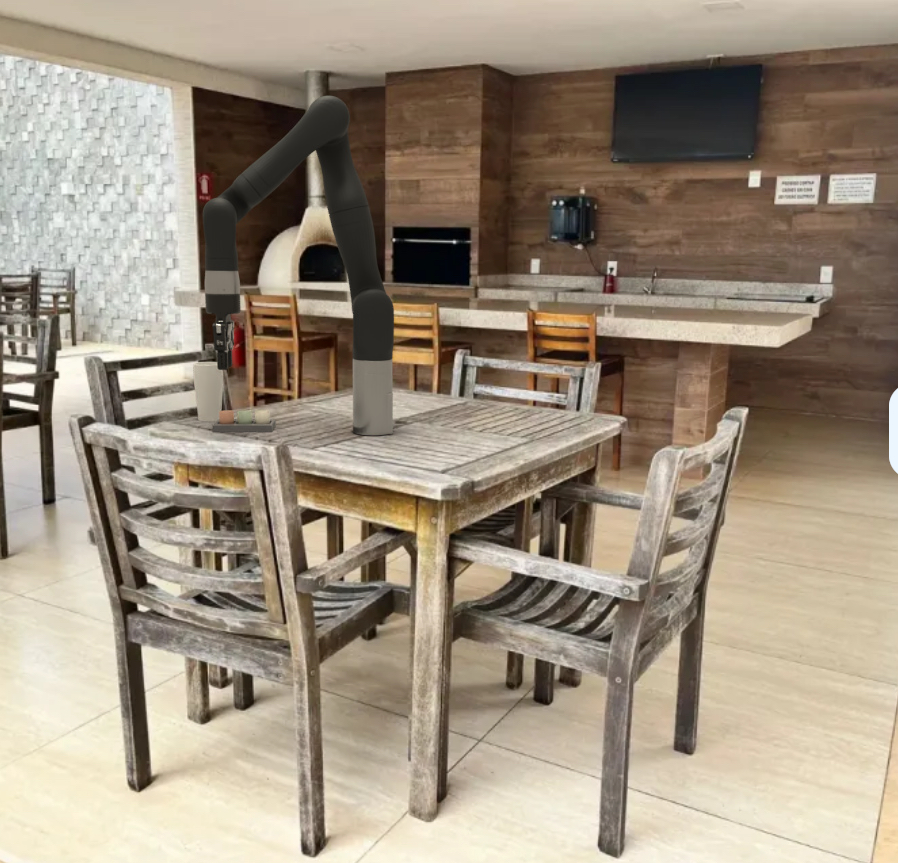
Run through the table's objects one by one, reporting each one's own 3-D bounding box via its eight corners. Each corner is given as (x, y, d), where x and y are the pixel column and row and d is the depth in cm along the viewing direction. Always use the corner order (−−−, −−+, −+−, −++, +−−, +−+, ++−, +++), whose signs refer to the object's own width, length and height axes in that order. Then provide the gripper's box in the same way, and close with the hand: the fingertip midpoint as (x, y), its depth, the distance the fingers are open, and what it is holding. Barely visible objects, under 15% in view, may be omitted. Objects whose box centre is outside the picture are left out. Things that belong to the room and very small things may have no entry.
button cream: (270, 427, 205) (270, 410, 204) (269, 430, 202) (268, 412, 201) (256, 427, 205) (256, 410, 204) (254, 430, 202) (254, 412, 201)
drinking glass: (195, 428, 211) (193, 365, 208) (195, 423, 217) (193, 361, 214) (225, 427, 213) (222, 364, 210) (224, 422, 219) (222, 361, 216)
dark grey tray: (275, 431, 208) (275, 419, 207) (272, 438, 200) (271, 425, 200) (218, 432, 207) (218, 419, 206) (212, 438, 199) (212, 425, 198)
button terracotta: (235, 427, 205) (234, 410, 204) (233, 430, 201) (232, 412, 201) (221, 427, 204) (220, 410, 203) (218, 430, 201) (218, 412, 200)
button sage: (252, 427, 205) (252, 410, 204) (251, 430, 202) (250, 412, 201) (238, 427, 205) (238, 410, 204) (236, 430, 201) (236, 412, 201)
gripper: (235, 293, 190) (237, 372, 194) (244, 290, 204) (246, 364, 208) (199, 292, 190) (202, 372, 193) (211, 290, 204) (213, 364, 207)
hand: (225, 367), depth 200 cm, fingers open, 5 cm apart
